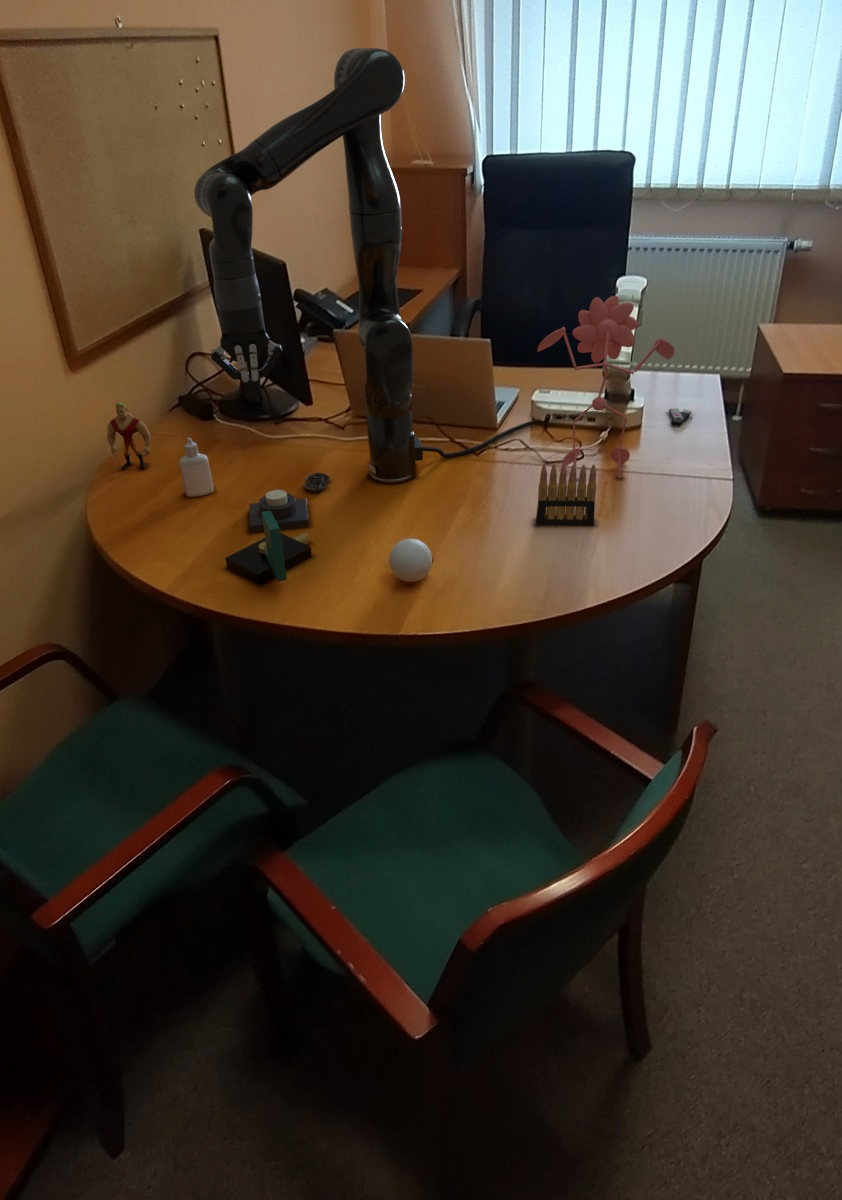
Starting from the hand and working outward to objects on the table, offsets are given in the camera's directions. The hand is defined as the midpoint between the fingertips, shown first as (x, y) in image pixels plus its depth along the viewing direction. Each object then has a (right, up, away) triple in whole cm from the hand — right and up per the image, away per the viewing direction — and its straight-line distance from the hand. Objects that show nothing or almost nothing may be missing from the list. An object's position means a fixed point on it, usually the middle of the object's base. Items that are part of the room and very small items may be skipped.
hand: (254, 399), depth 153 cm
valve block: (+4, -29, -3) cm, 30 cm away
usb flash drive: (+90, +6, +45) cm, 101 cm away
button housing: (+3, -21, +10) cm, 23 cm away
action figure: (-32, -7, +32) cm, 46 cm away
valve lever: (+5, -30, -9) cm, 32 cm away
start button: (+3, -18, +8) cm, 20 cm away
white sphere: (+29, -32, -8) cm, 44 cm away
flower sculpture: (+67, -8, +26) cm, 72 cm away
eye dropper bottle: (-15, -15, +20) cm, 29 cm away
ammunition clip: (+57, -22, +5) cm, 62 cm away
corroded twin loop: (+9, -13, +21) cm, 26 cm away
